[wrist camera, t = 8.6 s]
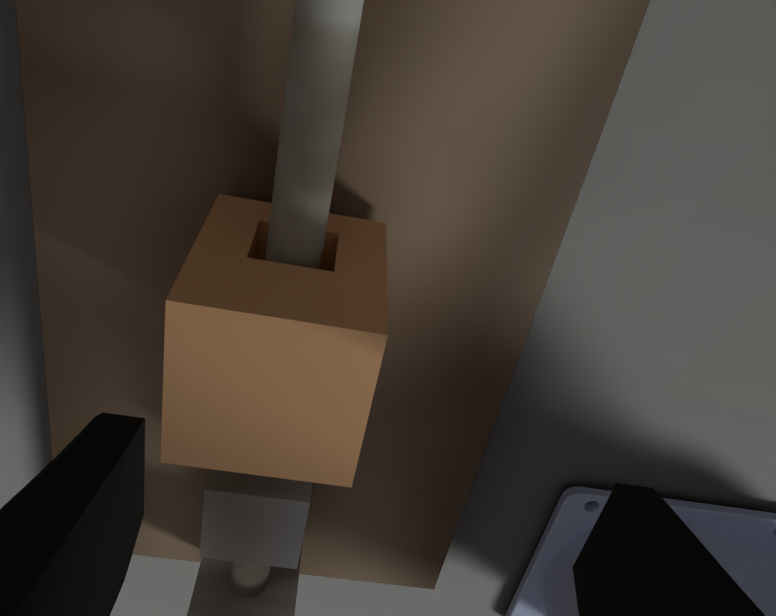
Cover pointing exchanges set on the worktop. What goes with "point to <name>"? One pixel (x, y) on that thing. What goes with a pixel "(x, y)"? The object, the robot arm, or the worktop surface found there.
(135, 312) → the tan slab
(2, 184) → the worktop surface
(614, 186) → the worktop surface
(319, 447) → the sleeve
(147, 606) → the worktop surface
